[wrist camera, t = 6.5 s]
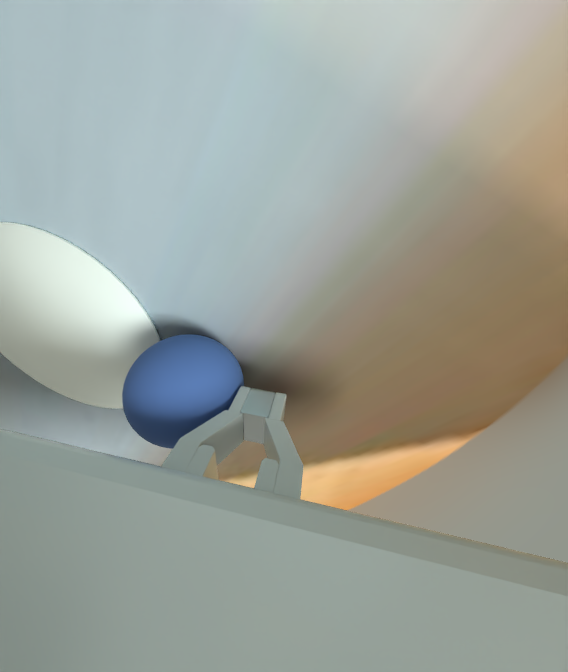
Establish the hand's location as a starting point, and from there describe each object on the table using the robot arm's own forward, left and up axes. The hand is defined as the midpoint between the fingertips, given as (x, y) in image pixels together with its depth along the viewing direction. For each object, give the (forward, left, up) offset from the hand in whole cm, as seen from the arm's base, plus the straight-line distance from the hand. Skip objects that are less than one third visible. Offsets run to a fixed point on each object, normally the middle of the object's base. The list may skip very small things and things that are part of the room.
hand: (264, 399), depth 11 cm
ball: (-4, 0, 0) cm, 4 cm away
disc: (-13, 0, -3) cm, 14 cm away
